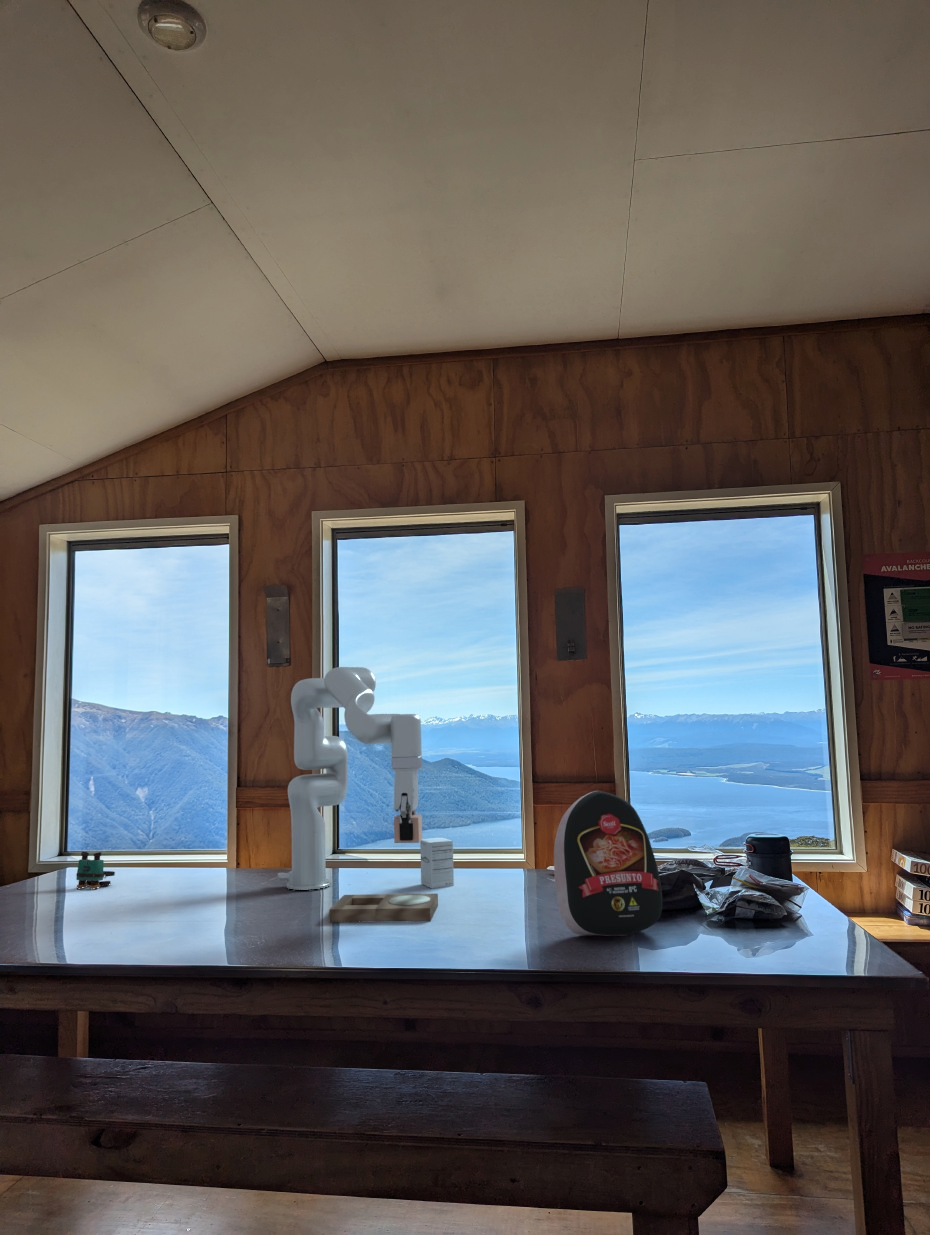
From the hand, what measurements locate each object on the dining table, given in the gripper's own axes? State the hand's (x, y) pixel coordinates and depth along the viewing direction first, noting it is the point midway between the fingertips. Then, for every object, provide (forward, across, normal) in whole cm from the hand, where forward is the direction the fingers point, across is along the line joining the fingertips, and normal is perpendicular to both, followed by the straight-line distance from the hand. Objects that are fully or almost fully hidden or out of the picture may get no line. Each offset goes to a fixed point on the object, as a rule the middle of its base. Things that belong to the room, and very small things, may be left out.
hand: (408, 837), depth 209 cm
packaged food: (+18, +21, +46) cm, 54 cm away
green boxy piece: (+18, -39, -100) cm, 109 cm away
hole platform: (+18, 0, -6) cm, 19 cm away
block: (+1, 0, 0) cm, 1 cm away
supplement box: (+18, -34, +3) cm, 39 cm away
